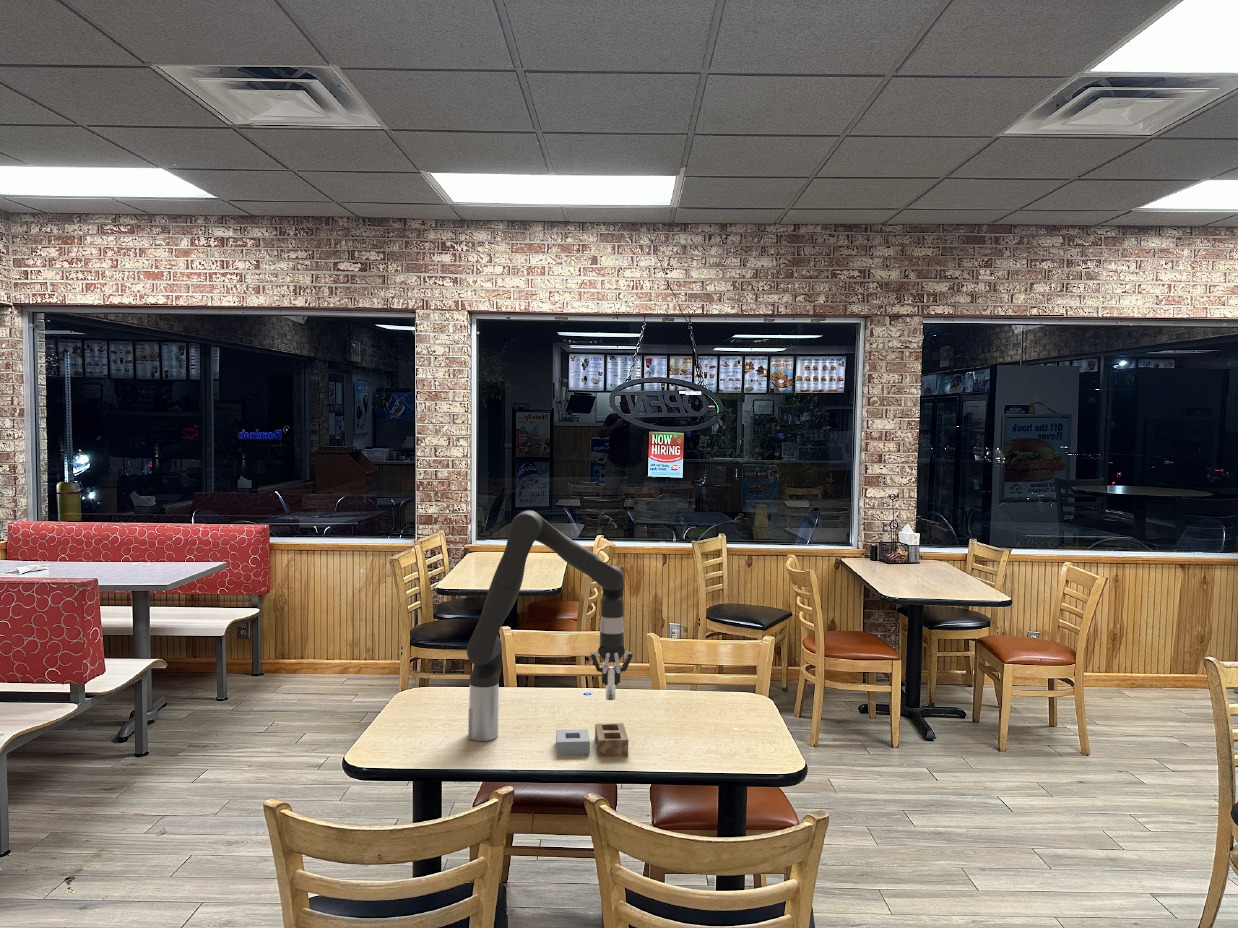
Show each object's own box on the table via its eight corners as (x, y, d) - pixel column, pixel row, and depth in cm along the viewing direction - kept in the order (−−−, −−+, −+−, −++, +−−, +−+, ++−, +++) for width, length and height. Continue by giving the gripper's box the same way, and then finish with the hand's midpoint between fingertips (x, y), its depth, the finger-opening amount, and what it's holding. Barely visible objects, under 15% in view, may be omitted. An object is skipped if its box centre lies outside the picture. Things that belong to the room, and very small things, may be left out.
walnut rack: (598, 756, 237) (598, 740, 237) (594, 739, 251) (595, 723, 251) (628, 755, 238) (628, 739, 238) (622, 738, 252) (623, 722, 252)
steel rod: (606, 700, 246) (606, 668, 246) (605, 697, 249) (605, 665, 248) (615, 700, 246) (616, 668, 246) (614, 696, 249) (615, 665, 249)
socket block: (556, 754, 238) (557, 741, 238) (555, 742, 248) (556, 729, 247) (589, 754, 239) (589, 741, 239) (587, 741, 249) (587, 729, 249)
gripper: (590, 633, 242) (589, 688, 243) (635, 632, 244) (634, 687, 244) (588, 627, 250) (587, 681, 250) (632, 626, 251) (631, 680, 252)
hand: (610, 684), depth 247 cm, fingers closed on steel rod, 3 cm apart
